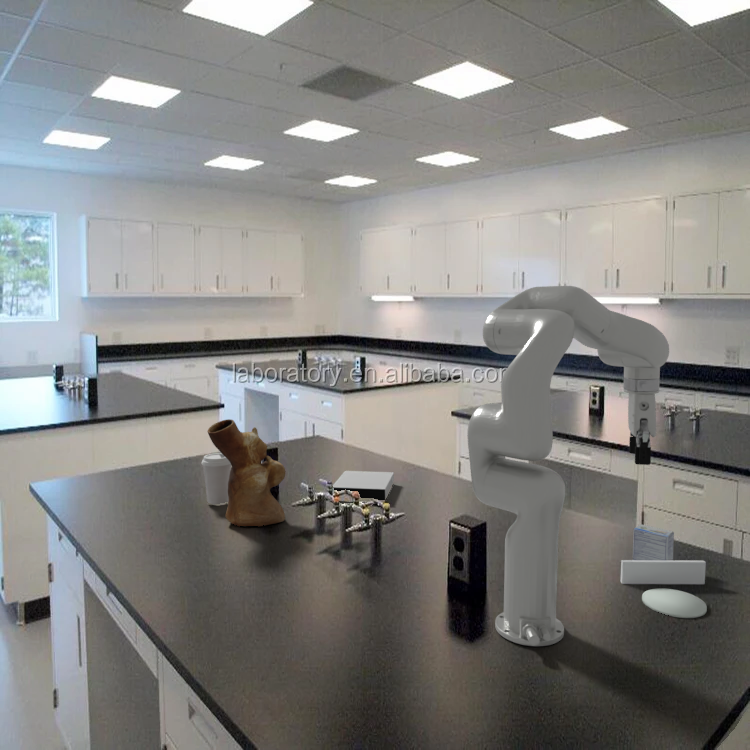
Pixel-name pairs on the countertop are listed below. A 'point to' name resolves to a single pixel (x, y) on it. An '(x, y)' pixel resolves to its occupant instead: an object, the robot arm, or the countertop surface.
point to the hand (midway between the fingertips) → (639, 458)
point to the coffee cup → (216, 477)
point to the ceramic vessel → (248, 476)
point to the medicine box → (652, 543)
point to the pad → (674, 603)
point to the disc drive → (366, 483)
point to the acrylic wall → (663, 572)
